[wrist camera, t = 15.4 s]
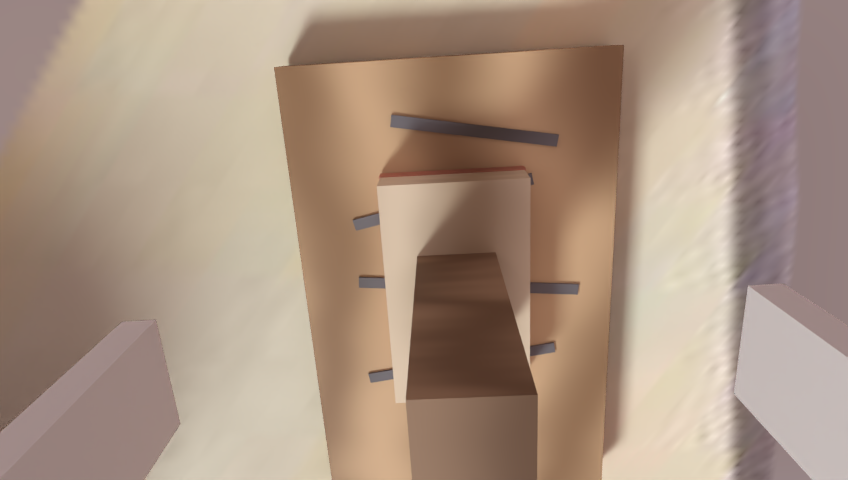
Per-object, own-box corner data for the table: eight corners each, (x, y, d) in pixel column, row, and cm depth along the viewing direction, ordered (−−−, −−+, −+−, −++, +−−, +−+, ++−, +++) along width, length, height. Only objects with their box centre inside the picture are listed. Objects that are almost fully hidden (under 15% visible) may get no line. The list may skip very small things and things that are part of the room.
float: (397, 378, 27) (371, 613, 16) (380, 173, 24) (332, 288, 13) (523, 372, 27) (588, 607, 16) (523, 165, 24) (604, 275, 13)
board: (339, 479, 32) (334, 501, 30) (283, 66, 24) (273, 67, 23) (593, 469, 31) (601, 491, 29) (612, 45, 24) (624, 45, 22)
